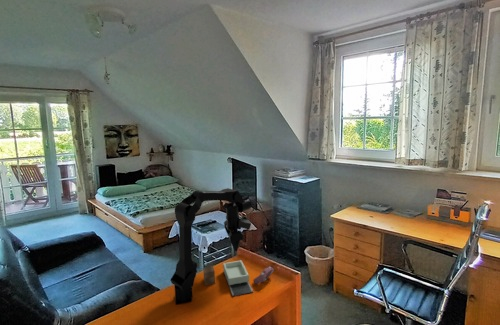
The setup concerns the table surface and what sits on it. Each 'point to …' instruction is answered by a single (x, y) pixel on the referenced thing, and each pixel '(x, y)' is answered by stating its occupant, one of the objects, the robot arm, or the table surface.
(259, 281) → the sweet potato
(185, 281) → the robot arm
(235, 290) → the track
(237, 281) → the pale green tray
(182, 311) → the table surface
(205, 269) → the walnut block
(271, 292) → the table surface
